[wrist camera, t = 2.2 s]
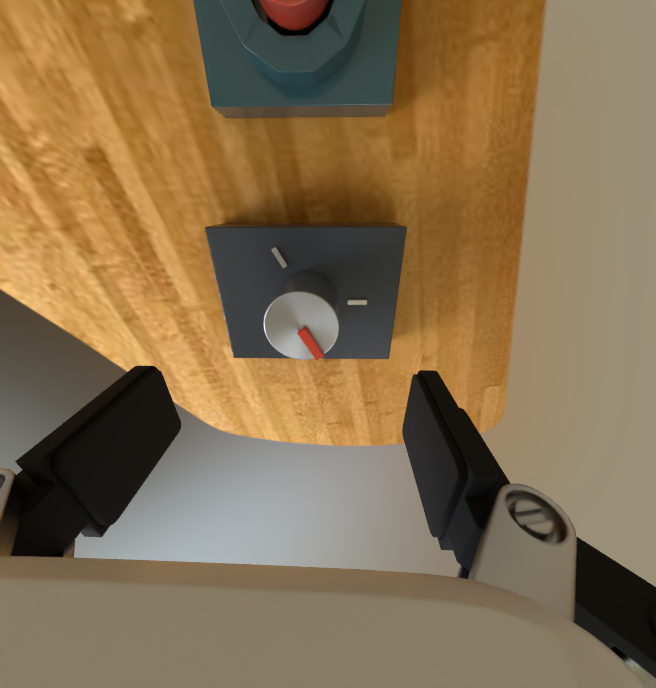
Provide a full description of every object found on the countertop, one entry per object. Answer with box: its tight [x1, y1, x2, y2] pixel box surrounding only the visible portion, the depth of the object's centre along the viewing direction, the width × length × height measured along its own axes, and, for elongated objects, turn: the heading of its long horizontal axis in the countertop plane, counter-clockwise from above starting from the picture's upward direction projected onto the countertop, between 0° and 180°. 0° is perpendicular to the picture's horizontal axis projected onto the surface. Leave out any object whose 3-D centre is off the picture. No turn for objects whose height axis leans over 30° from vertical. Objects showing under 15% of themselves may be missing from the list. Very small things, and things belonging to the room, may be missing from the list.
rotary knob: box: [264, 272, 339, 360], centre depth 16 cm, size 4×4×5 cm
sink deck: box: [205, 223, 407, 359], centre depth 20 cm, size 13×10×3 cm
